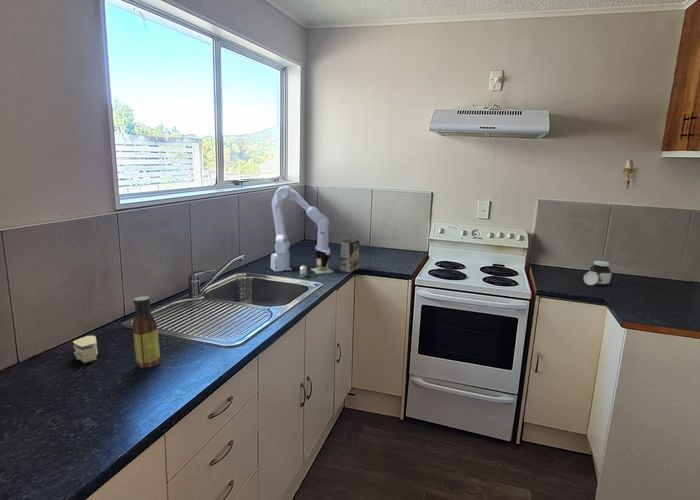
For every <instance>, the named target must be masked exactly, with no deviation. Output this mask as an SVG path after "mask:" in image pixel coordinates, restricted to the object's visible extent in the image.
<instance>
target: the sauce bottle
mask: <svg viewBox="0 0 700 500" xmlns="http://www.w3.org/2000/svg"><path fill="white" fill-rule="evenodd" d="M150 303H151V298H150V296H148V295H147V296H146V295H145V296H143V295H142V296H138V297H137V296H136V297H134V298H133V305H134V308H135V316H134V318H133V320H132V333H133V334H132V335H133V343H134V352H135V361H136V363H137V367H139V368H142V369H148V368H152V367H155V366H158V365H159V363H160V362H161V350H160V341H159V333H158V325H157V323H156V320H155V319H154V316H153V314H152V312H151V304H150Z"/></svg>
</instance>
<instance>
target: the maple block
mask: <svg viewBox="0 0 700 500" xmlns="http://www.w3.org/2000/svg"><path fill="white" fill-rule="evenodd" d="M316 268H318V269H320V270H324V269H328V268H329V261H328V262H327V266H326V267H322V260H321V258H319V259H317V258H316Z"/></svg>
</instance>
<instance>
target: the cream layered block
mask: <svg viewBox="0 0 700 500" xmlns="http://www.w3.org/2000/svg"><path fill="white" fill-rule="evenodd" d="M72 343H73V344H74V345H73V346H72V347H73V349H74V350H75V351H74V352H73V354H74V355H75V359H76V360H80V361H81V362H82V363H83V364H85V363H89V362H92V361H96V360H97V355H98V354H99V353H98V345H97V337H96V336H95V335H86V336H83V337H81V338H78V339H75V340H73V341H72Z"/></svg>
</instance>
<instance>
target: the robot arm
mask: <svg viewBox="0 0 700 500" xmlns="http://www.w3.org/2000/svg"><path fill="white" fill-rule="evenodd" d="M287 199H288V200H289V201H294V202H296V203H297V204H298V205H299V206H300V207H301V208H302V209H303V210H305V213H306V216H308V218H309V219H311V220H312V221H313V223H315V224H316V227H317V241H316V242H317V244H316V245H315V247H314V248H315V249H314V255H315V256H316V260H317V259H319V258H321V260H322V267H326V266H327V262H328V263H329V259H330V257H331V255H332V254H331V247H329V234H330V233H329V225H330V219H329V218H328V217H327V216H325V214H324V213H323V214H322V212H320V210H318V209H319V208H318V207H315V206H312V205H310V204H309V203H308V202H307V201H306V200H305V199H304V198H303V197H302V196H301V195H300V193H298V192H297V191H296V190H295V189H294V188H292V187H291V186H289V185H283V186H279V187H278V189H276V190H275V192H274V194H273V197H272V200H271V208H272V209H271V210H272V216H273V222H274V223H273V224H274V230H275V245H274V250H275V252H274V253H271V254H270V267H269V268H270V269H271V270H273V271H274V272H285V271H284V270H286V271H293V269H292V268H291V267H290V250H289V249H290V247H291V242H290V241H289V239H288V235H287V234H286V226H285V220H284V219H285V218H284V213H283V204H284V202H285V201H286V200H287Z"/></svg>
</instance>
